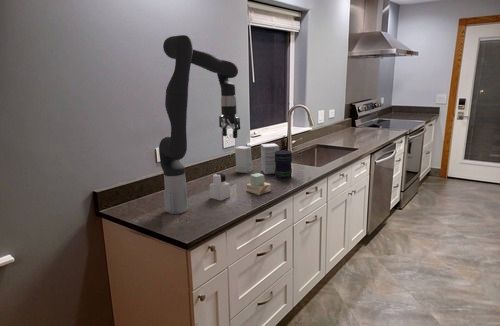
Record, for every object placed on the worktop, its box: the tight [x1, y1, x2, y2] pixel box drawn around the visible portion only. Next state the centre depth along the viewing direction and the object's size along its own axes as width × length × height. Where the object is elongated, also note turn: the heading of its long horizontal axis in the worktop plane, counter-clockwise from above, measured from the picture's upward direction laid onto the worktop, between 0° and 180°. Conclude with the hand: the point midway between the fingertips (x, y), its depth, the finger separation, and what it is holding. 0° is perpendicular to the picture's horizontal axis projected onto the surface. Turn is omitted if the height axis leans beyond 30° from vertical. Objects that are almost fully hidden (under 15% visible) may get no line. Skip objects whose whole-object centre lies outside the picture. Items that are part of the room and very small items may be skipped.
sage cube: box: [250, 172, 265, 186], centre depth 181 cm, size 5×5×5 cm
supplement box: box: [260, 143, 280, 175], centre depth 215 cm, size 10×9×17 cm
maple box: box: [246, 181, 272, 196], centre depth 182 cm, size 9×9×4 cm
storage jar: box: [274, 149, 293, 181], centre depth 203 cm, size 10×10×15 cm
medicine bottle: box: [209, 172, 231, 202], centre depth 173 cm, size 7×7×12 cm
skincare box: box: [234, 145, 253, 174], centre depth 217 cm, size 8×7×16 cm
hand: (229, 137), depth 179 cm, fingers open, 8 cm apart
